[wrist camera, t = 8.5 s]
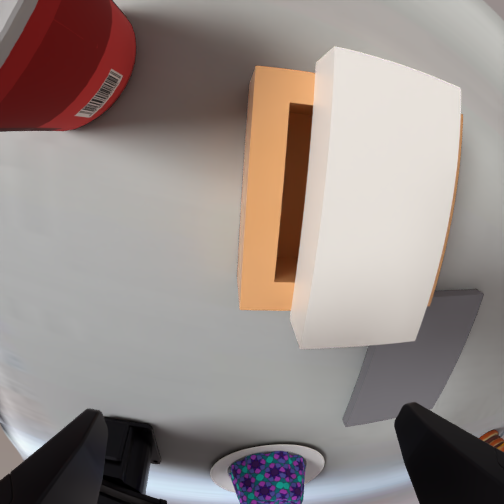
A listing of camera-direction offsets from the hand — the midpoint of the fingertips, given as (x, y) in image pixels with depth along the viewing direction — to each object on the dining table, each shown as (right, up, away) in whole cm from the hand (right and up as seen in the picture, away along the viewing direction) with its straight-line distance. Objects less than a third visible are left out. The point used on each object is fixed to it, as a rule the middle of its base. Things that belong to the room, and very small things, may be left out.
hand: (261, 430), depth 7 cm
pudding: (+1, -18, +19) cm, 26 cm away
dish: (+5, +8, +10) cm, 14 cm away
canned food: (-10, +16, +6) cm, 20 cm away
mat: (+13, -4, +15) cm, 20 cm away
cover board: (+5, +7, +6) cm, 10 cm away
